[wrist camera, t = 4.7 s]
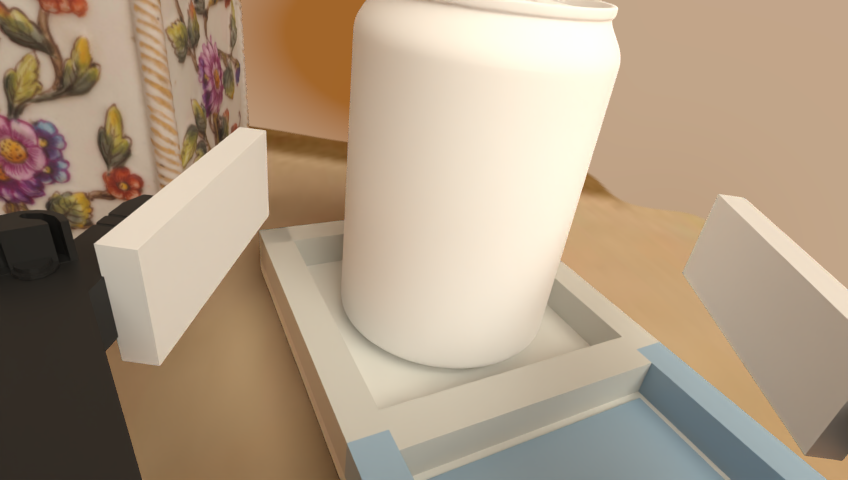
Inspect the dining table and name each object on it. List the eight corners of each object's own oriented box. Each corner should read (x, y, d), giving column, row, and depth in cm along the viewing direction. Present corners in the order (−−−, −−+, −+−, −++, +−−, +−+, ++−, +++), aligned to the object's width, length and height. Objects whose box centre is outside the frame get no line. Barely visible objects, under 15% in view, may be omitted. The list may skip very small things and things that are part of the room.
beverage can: (311, 356, 18) (316, -28, 12) (367, 243, 25) (388, -35, 19) (542, 403, 17) (671, 24, 11) (533, 273, 24) (610, -3, 18)
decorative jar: (193, 298, 21) (110, -328, 12) (-127, 281, 19) (-507, -446, 10) (256, 178, 31) (237, -205, 22) (49, 161, 30) (-62, -255, 20)
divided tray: (260, 268, 23) (258, 230, 22) (483, 234, 28) (490, 202, 27) (673, 1366, 6) (751, 1420, 5) (1043, 754, 11) (1117, 718, 10)
